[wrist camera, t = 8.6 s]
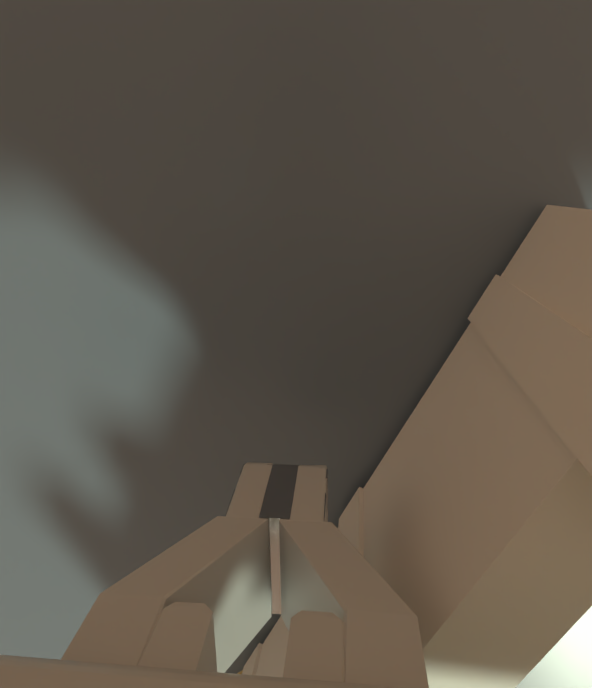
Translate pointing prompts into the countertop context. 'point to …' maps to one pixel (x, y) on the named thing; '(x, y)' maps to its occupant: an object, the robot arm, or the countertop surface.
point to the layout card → (250, 256)
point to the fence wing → (492, 477)
